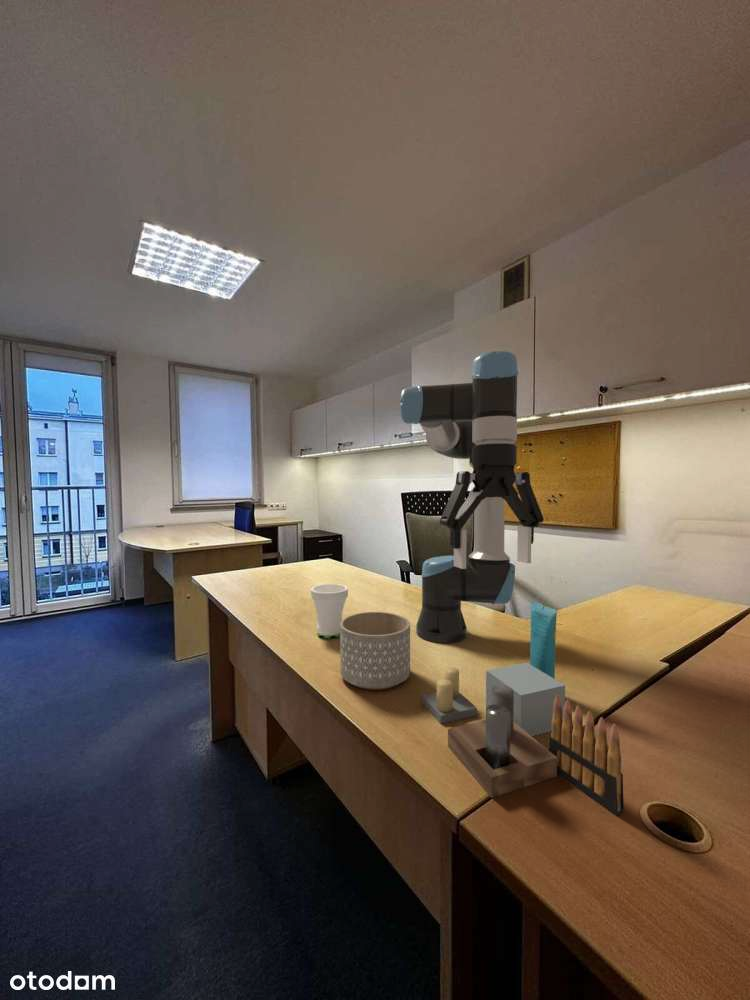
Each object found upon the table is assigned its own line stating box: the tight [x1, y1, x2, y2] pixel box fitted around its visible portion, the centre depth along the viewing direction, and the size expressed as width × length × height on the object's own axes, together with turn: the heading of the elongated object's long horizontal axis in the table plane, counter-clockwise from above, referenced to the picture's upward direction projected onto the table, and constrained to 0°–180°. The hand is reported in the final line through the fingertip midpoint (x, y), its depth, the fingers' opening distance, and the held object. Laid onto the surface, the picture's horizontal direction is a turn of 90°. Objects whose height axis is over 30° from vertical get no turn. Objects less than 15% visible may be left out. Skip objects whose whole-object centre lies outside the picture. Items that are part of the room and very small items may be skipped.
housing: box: [485, 662, 566, 737], centre depth 75 cm, size 10×10×8 cm
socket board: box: [447, 684, 558, 799], centre depth 63 cm, size 12×12×10 cm
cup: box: [310, 583, 349, 640], centre depth 118 cm, size 11×11×14 cm
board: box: [420, 666, 478, 725], centre depth 79 cm, size 8×8×6 cm
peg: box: [485, 705, 511, 770], centre depth 60 cm, size 4×4×10 cm
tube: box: [529, 600, 558, 680], centre depth 84 cm, size 7×5×19 cm, turn 26°
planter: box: [339, 611, 411, 691], centre depth 92 cm, size 16×16×13 cm
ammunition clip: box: [548, 694, 625, 817], centre depth 58 cm, size 11×2×12 cm, turn 29°
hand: (493, 564), depth 69 cm, fingers open, 13 cm apart
